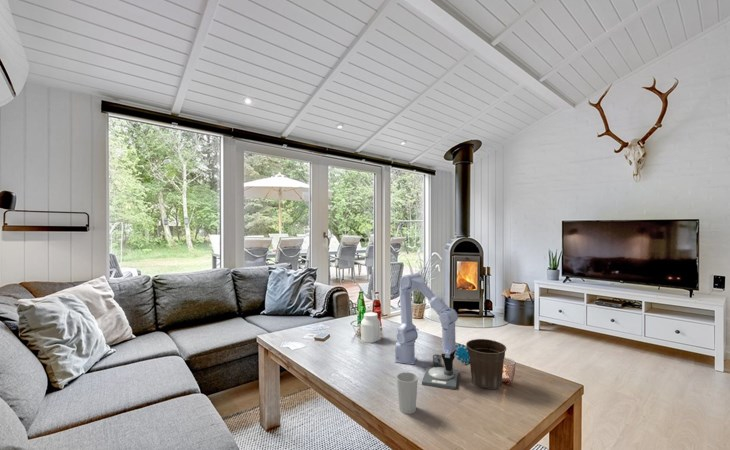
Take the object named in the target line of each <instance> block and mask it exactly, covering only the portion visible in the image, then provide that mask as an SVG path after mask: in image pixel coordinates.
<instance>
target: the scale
mask: <svg viewBox="0 0 730 450" xmlns="http://www.w3.org/2000/svg"><path fill="white" fill-rule="evenodd" d="M458 378H459V370H458V369H453V375H451V376H447V375H445V374H444V366H442V367H433V366H429V365H427V367H426V370H425V372H424V376H423V377H422V380H421V385H422V386H430V387H435V388H441V389H442V388H443V389H447V390H449V389H450V390H457V383H458Z"/></svg>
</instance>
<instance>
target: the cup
mask: <svg viewBox="0 0 730 450" xmlns="http://www.w3.org/2000/svg"><path fill="white" fill-rule="evenodd" d="M418 381H419V377H418V375H417V374H415V373H413V372H410V371H404V372H403V371H402V372H399V373H397V375H396V389H397V397H398V398H397V399H398V400H397V401H398V410H399V412H400V413H403V414H406V415H410V414H414V413H415V412H416V410H417V395H418V394H417V393H418Z"/></svg>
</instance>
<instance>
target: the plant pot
mask: <svg viewBox="0 0 730 450" xmlns="http://www.w3.org/2000/svg"><path fill="white" fill-rule="evenodd" d="M465 346H466V348H468V350H467V351H468V354H469V358H470V362H469V366H470V374H471V375H470V376H471V382H472V383H473V384H474V385H475V386H476V387H478V388H481V389H483V388H485V389H486V390H496V389H497V390H498V389H499V388H501V387H502V384H503V372H504V371H503V370H504V359H505V358H506V352H507V346H506V345H505V344H503V343H502V342H500V341H496V340H494V339H493V340H492V339H488V338H476V339H471V340H468V341H467V342H466V344H465Z"/></svg>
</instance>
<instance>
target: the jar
mask: <svg viewBox="0 0 730 450" xmlns="http://www.w3.org/2000/svg"><path fill="white" fill-rule="evenodd" d="M378 316H379V315H378V313H377V312H371V311H369V312H365V313H363V317H362V318H363V319H362V320H361V322H360V326H361V327H360V330H361V331H360V333H361V335H360V336H361V337H360V339H361V341H362V342H363V343H367V344H369V343H370V344H373V343H375V342H377V341H380V340H381V338H382V337H381V320H380V319H379V318H378Z"/></svg>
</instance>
